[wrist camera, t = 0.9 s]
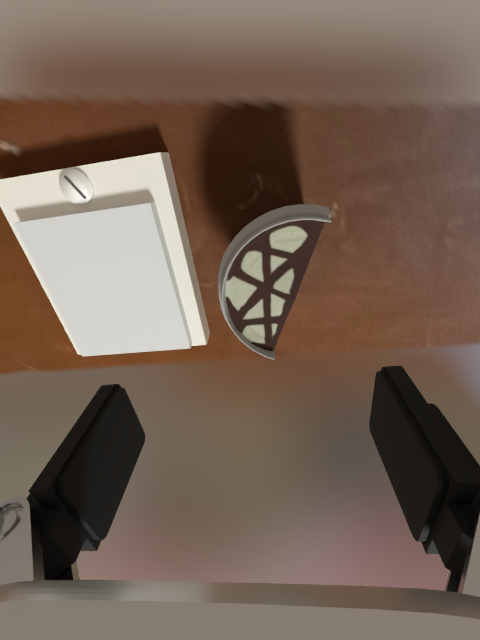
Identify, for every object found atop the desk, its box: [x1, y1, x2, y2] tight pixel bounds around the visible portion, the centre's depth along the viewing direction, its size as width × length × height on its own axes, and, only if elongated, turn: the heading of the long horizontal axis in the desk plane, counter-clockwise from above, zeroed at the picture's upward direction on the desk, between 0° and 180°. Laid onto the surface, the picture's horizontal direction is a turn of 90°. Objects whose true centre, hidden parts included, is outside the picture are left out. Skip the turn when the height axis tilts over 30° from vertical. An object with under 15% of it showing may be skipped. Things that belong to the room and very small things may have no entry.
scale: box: [0, 152, 210, 356], centre depth 29 cm, size 16×19×4 cm
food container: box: [218, 204, 331, 360], centre depth 24 cm, size 12×6×10 cm, turn 165°
